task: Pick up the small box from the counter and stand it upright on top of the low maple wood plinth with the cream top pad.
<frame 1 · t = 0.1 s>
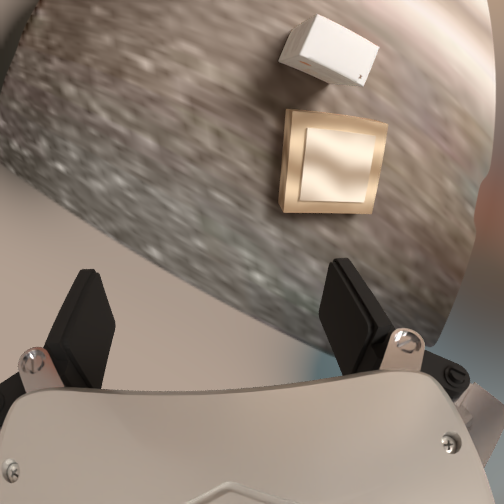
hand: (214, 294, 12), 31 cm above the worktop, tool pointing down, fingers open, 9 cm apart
maple plinth: (328, 159, 41), on the worktop
small box: (310, 56, 33), on the worktop
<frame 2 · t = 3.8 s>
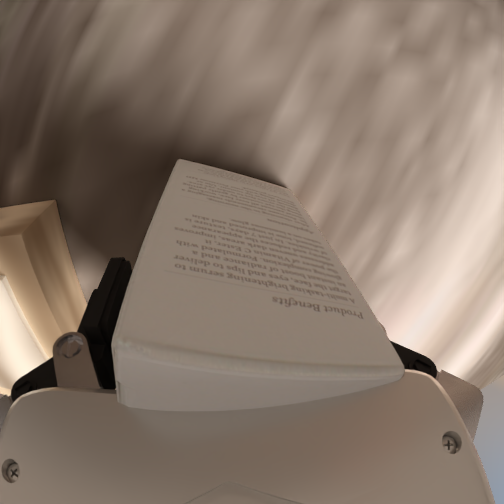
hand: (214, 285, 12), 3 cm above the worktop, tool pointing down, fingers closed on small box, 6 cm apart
maple plinth: (8, 304, 15), on the worktop
small box: (213, 242, 15), on the worktop, touching gripper
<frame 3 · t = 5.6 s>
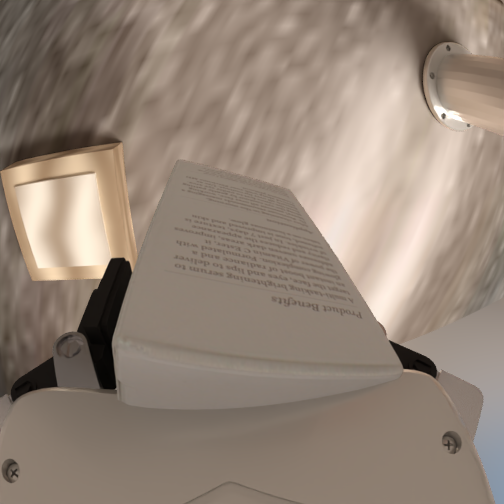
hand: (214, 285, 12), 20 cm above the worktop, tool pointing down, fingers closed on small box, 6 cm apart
maple plinth: (73, 210, 29), on the worktop
small box: (212, 242, 15), point 17 cm above the worktop, touching gripper
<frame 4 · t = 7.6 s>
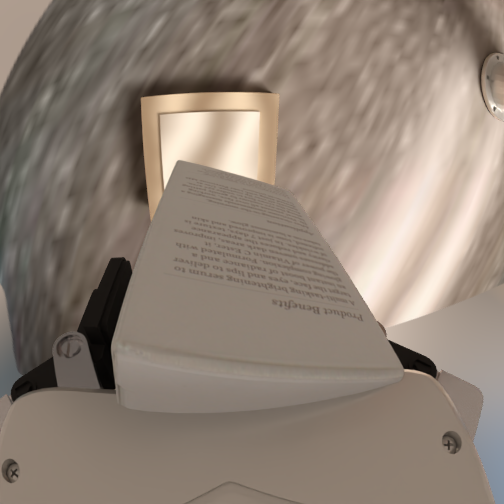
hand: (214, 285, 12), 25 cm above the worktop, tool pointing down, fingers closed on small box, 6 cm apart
maple plinth: (209, 150, 33), on the worktop
small box: (212, 243, 15), point 21 cm above the worktop, touching gripper
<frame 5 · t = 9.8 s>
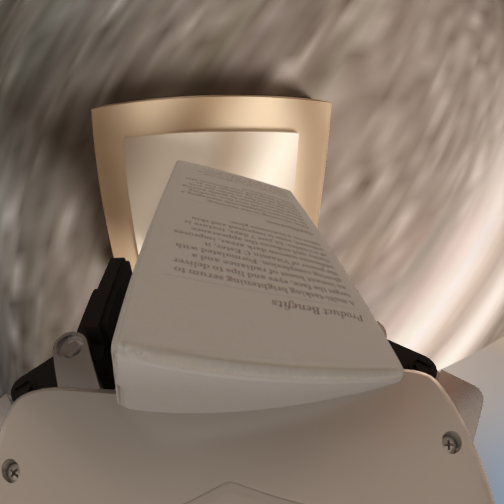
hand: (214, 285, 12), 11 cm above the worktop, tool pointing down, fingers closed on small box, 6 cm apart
maple plinth: (211, 191, 21), on the worktop
small box: (212, 243, 15), point 8 cm above the worktop, touching gripper
when the fingers open (8 cm above the worktop, at t = 11.4 s): small box drops 1 cm, resting on maple plinth.
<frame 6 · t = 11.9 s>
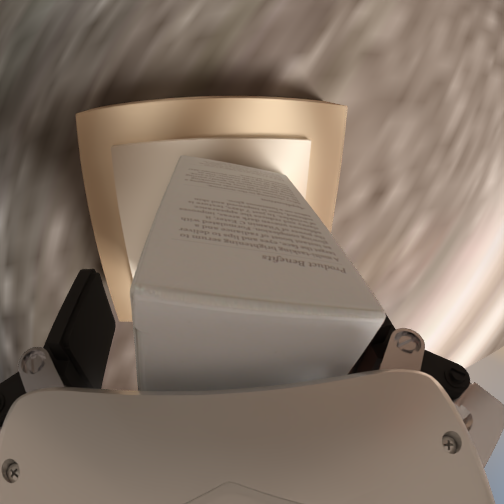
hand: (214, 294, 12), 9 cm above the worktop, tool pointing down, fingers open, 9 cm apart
maple plinth: (211, 202, 19), on the worktop
small box: (219, 229, 16), point 4 cm above the worktop, touching maple plinth
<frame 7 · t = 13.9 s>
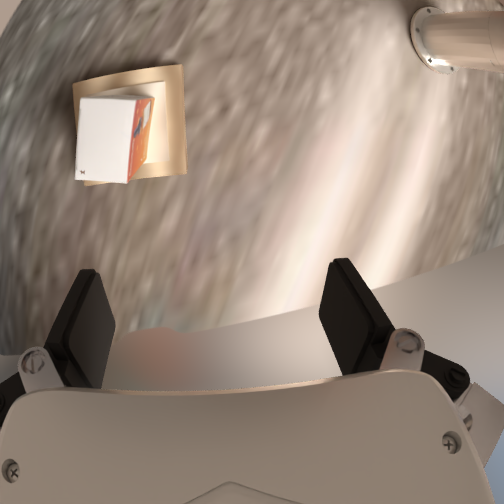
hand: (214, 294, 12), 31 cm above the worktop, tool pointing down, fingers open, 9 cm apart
maple plinth: (133, 122, 35), on the worktop
small box: (129, 126, 31), point 4 cm above the worktop, touching maple plinth
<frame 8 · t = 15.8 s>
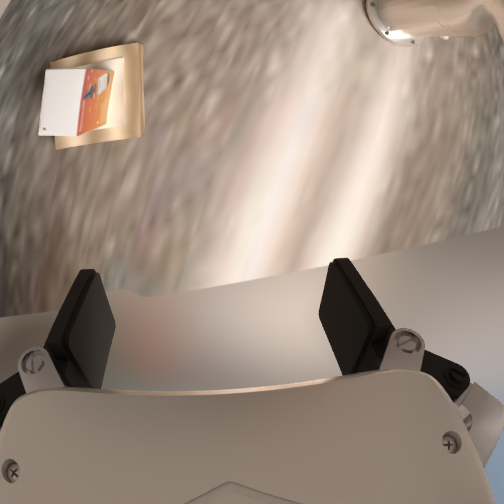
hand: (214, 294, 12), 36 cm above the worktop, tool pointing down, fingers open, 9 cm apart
maple plinth: (100, 95, 36), on the worktop
small box: (93, 96, 33), point 4 cm above the worktop, touching maple plinth
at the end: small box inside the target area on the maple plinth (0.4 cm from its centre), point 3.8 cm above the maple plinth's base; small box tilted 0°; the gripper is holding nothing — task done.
